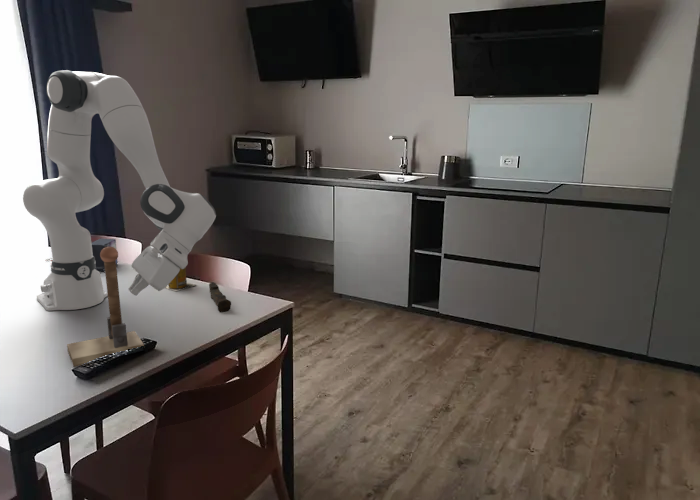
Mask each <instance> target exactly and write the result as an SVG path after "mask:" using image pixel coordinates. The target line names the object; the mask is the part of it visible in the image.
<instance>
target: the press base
mask: <svg viewBox="0 0 700 500" xmlns="http://www.w3.org/2000/svg"><path fill="white" fill-rule="evenodd" d="M106 324H107V332H108V335H107V336H101V337H97V338H92V339H87V340H81V341H76V342H71V343H67V344H66V347H67V353H68V355H69V359H70V360H71V363H72V366H73V367H74V368H76V367H80V366H83V365H82V364H84V363H87V362H89V361H92V360H94V359H96V358H99V357H102V356H105V355H108V354H112V353H116V352H120V351H125V350H128V349H132V348H137V347H141V346H144V347H145V343H144V342H143V341H142V340H141V338H140V336H139V335H138V334H137V332H136V331H135V330H133V331H127V325H126V322H124V323H123V322H122V324H117V325H112V333H113V336H112V334H111V322H110V316H107V317H106ZM79 365H80V366H79Z"/></svg>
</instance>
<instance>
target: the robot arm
mask: <svg viewBox="0 0 700 500" xmlns="http://www.w3.org/2000/svg"><path fill="white" fill-rule="evenodd" d="M45 87H46V95H47V98H48V101H49V102H50V103H51V106H50V110H49V115H48V125H47V137H46V138H47V140H46V141H47V142H46V154H47V157H48V158H49V160H51V161H52V162H53V163H55V164H56V166H57V169H58V177H57V178H49V179H44V180H43V179H42V180H39V181H37V182H35V183H33V184H31V185H29V186H27V187H26V189H25V190H24V191H23V197H22V201H23V206H24V207H25V209H26V210H27V212H28V213H29V214H30V215H32V216H33V217H35V218H36V219H38V220H39V221H40V223H41V224H42V225H43V227H44V229H45V231H46V232H47V236H48V239H49V243H50V249H51V256H52V257H51V258H53V260H51V261H52V263H51V266H50V271H51V272H50V273H49V275H47V277H46V278H45V279H44V280H43V284H41V285H40V291H41V293H40V294H38V295H36V300H37V301H38V302H39V303H40V304H41V306H42V307H43V308H44V309H45V310H46V311H60V310H61V311H72V310H74V311H75V310H80V309H81V310H82V309H86V308H90V307H93V306H96V305H98V304H100V303H102V302H103V301H104V300H105V298H106V297H107V298H108V294H107V291H104V285H103V280H102V275H101V271H97V270H96V269H95V268H96V261H95V257H94V256H93V252H92V237H91V236H92V235H91V233H90V231H89V230H88V229H87V228H85V227H83V226H81V224H80V223H79V221H78V219H77V216H76V213H80V212H84V211H88V210H90V209H92V208H94V207H95V206H98V205H100V204H101V203H102V201H104V200H103V199H104V196H105V191H104V190H105V189H104V187H103V185H102V182H101V181H100V180H99V179H98V178H97V177H96V176H95V174H94V172H93V169H92V165H91V139H92V137H91V135H92V119H93V118H94V116H95V115H96V114H98V115H99V118H100V120H101V122H102V125H103V128H104V130H105V131H106V133H107V135H108V136H109V138H110V140H111V141H112V142H113V144H114V145H115V147H116V149H118V150H119V151H120V152H121V154H122V155H124V157H125V158H126V159H127V160H128V161H129V162H130V164H131V165H132V166H133V168H135V170H136V172H137V173H138V175H139V176H140V179H141V182H142V185H143V186H144V188H145V190H144V191H143V192H142V194H141V196H140V200H139V202H140V204H139V205H140V208H141V210H142V211H143V214H144V215H145V216H146V217H147V218H148V219H149V220H150V221H151V222H152V223H153V225H154V226H155V228H156V229H157V230H159V231H160V232H159V233H158V234H157V235H156V236H155V238H153V239H152V241H151V242H150V243H149V244H150V245H148V246H147V247H146V248H145V249H144V250H142V251H141V253H140V254H139V255H137V257H136V258H135V259H134V260H133V261H132V263H131V268H133V270H134V271H135V272H137V273H136V274H137V275H136V276H135V278H134V279H133V282H132V284H131V285H130V286H129V287H128V291H129V292H130V294H132V295H133V296H135V297H136V296H138V294H139V293H140V292H141V291H143V290H145V289H146V288H147V287H149V285H150V286H151V287H152V288H154V289H155V290H157V291H158V292H160V291H162V290H164V289H166V288H165V287H166V286H168V284H169V283H170V282H171V281H172V280H173V279H174V278H175V276H176V275H177V274H178V273H179V271H180V268H181V269H184V268H185V267H186V268H187V266H188V264H189V262H188V255H189V253H190V252H191V251H192V250H193V247H194V245H195V244H196V243H197V242H198V241H200V240H201V239H202V238H203V237H204V235H205V234H206V233H207V232H208V230H210V228H211V227H212V225H213V223H214V222H215V220H216V217H217V213H216V210H215V208H214V206H213V205H212V203H211V202H210V201H209V200H208V199H207V198H206V197H205V195H202V194H201V193H199V192H198V193H197V192H193V193H192V192H186V191H182V190H179V189H177V188H173V187H171V185H170V183H169V180H168V179H167V176H166V174H165V171H164V168H163V167H162V165H161V162H160V159H159V155H158V153H157V152H158V151H157V149H156V145H155V141H154V137H153V133H152V129H151V125H150V122H149V118H148V115H147V113H146V111H145V109H144V107H143V104H142V103H141V100H140V98H139V97H138V94H137V93H136V92H135V90H134V89H133V87H132V86H131V85H130V84H129V82H128V81H127V80H126V79H125V78H123V77H120V76H117V75H112V74H111V75H107V74H104V73H99V72H94V71H76V70H75V71H72V70H68V69H66V70H63V69H62V70H57V71H54V72H52V73H51V74H50V76H49V77H48V79H47V81H46V86H45ZM179 267H180V268H179Z"/></svg>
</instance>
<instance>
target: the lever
mask: <svg viewBox="0 0 700 500" xmlns="http://www.w3.org/2000/svg"><path fill="white" fill-rule="evenodd" d="M100 257H101V259H102V260H103V261H104V266H105V272H104V273H105V283H106V292H107V294H108V296H107V301H108V302H107V303H108V311H109V317H110V322H111V334H112V336H113V333H112V325H117V324H122V323H123V320H122V311H121V310H122V309H121V299H120V290H119V281H118V280H119V279H118V270H117V265H116V260H117V261H118V257H119V251H118V250H117V248H116V249H115V248H114V247H110V246H109V247H105V248H103V249H102V251H101V253H100Z"/></svg>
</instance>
